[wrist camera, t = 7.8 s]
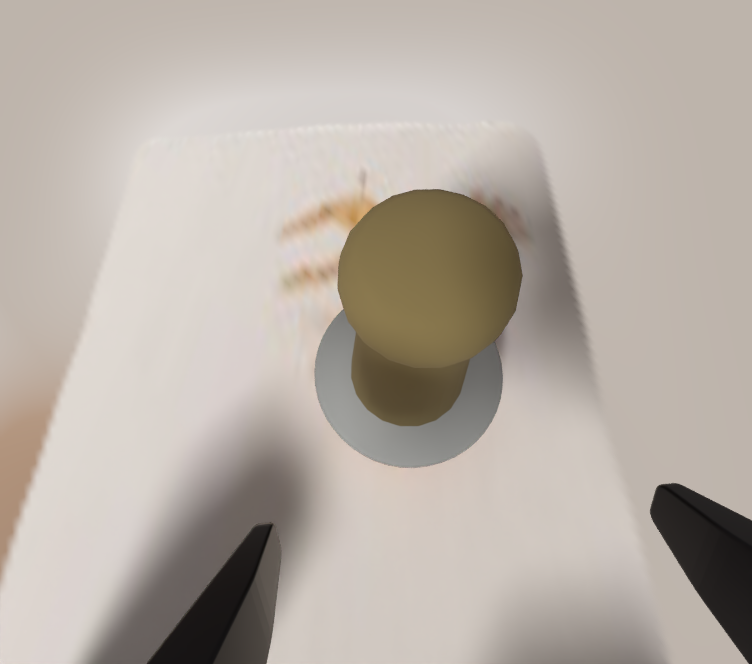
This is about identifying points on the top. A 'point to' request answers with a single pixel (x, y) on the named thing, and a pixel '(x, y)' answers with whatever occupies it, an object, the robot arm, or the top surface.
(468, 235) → the cork
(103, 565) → the top surface
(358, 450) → the lid
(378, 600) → the top surface
